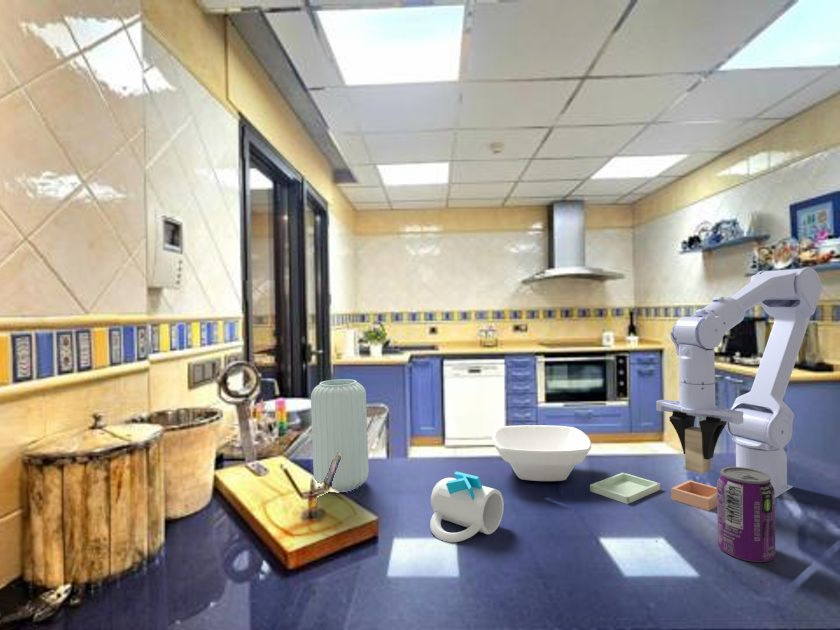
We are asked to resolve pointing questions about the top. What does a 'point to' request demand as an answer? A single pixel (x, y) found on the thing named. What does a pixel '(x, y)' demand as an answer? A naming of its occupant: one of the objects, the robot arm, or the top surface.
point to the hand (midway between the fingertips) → (698, 455)
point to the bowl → (541, 450)
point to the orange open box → (695, 495)
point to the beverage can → (746, 514)
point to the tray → (625, 487)
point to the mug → (465, 507)
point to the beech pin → (695, 451)
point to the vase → (340, 432)
